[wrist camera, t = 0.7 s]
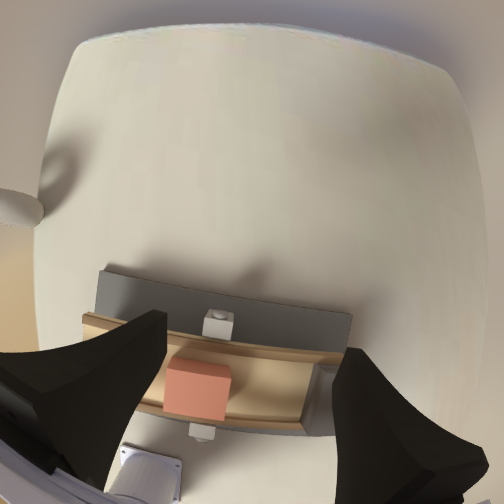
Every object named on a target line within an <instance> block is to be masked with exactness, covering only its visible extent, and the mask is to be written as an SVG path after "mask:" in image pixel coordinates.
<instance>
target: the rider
mask: <svg viewBox="0 0 504 504" xmlns="http://www.w3.org/2000/svg"><path fill="white" fill-rule="evenodd" d="M230 384H231V373H230V367H229V366H227V365H220V364H214V363H207V362H201V361H195V360H189V359H184V358H178V357H173V356H172V357H171V360H170V362H169V364H168V367H167V371H166V381H165V391H164V402H163V411H164V412H169V413H175V414H180V415H186V416H192V417H198V418H205V419H213V420H220V421H224V418H225V412H226V407H227V401H228V395H229V390H230Z"/></svg>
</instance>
